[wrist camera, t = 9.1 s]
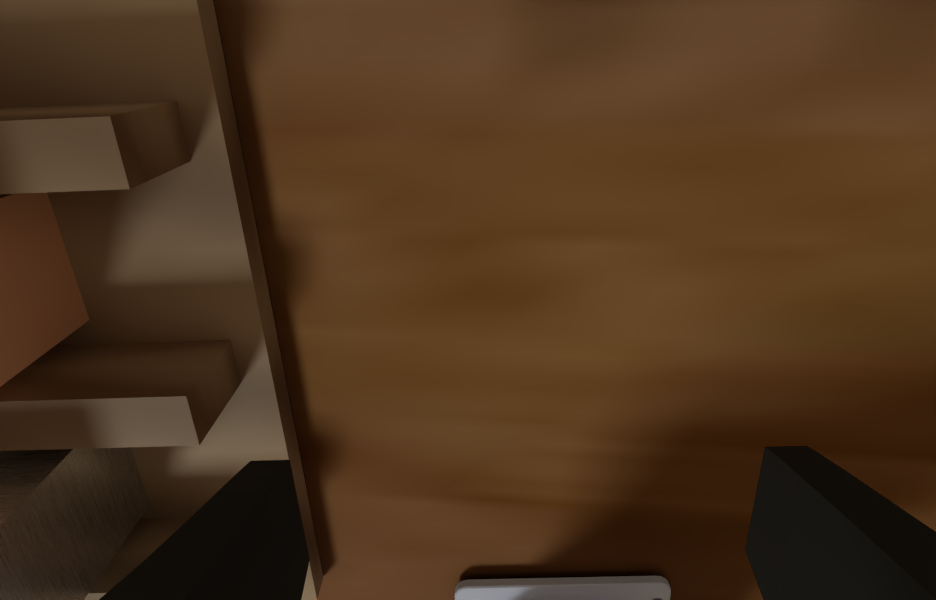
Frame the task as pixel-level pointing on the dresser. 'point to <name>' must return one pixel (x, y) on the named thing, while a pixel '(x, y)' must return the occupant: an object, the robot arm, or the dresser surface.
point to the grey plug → (64, 518)
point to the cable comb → (145, 257)
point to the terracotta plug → (33, 283)
